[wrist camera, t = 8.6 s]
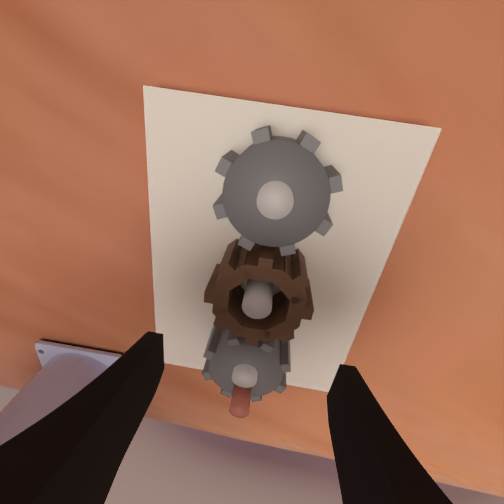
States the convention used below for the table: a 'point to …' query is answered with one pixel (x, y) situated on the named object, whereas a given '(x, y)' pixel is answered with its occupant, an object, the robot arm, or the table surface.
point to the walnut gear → (263, 269)
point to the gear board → (326, 257)
